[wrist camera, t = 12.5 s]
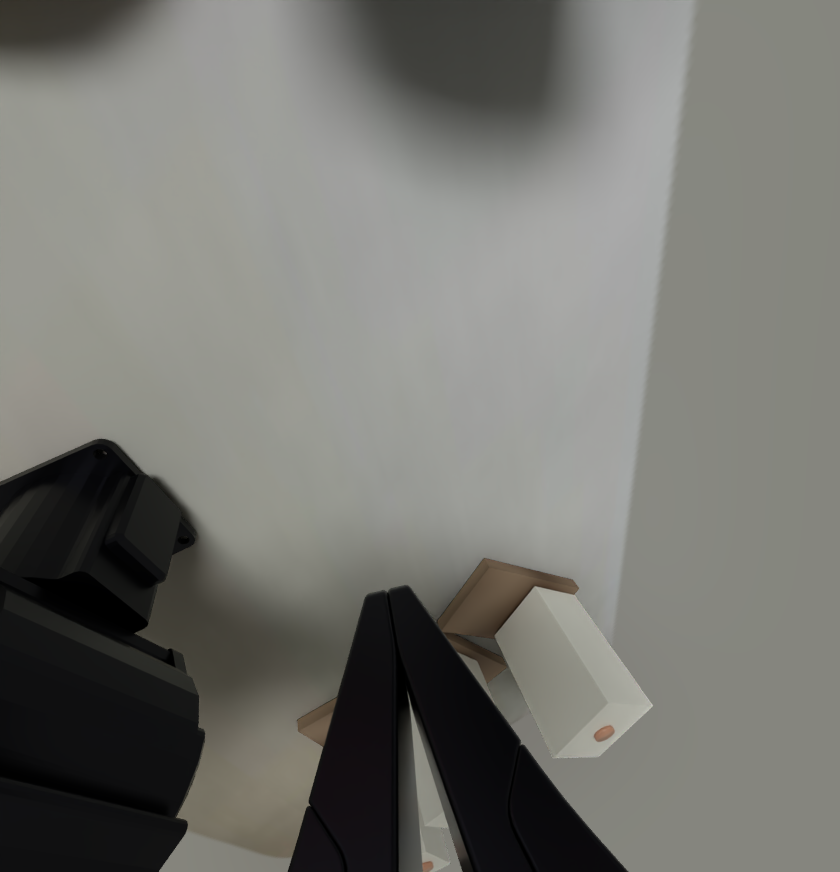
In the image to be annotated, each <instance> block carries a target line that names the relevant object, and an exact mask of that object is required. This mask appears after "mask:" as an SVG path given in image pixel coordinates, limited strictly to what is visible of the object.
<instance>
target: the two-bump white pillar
mask: <svg viewBox="0 0 840 872" xmlns="http://www.w3.org/2000/svg"><path fill="white" fill-rule="evenodd" d="M457 653H458V652H457ZM458 654H459V655H460V657H461V658H462V660H463V661H464V662H465V664H466V665H467V667H468V668H469V669H470V671H471V672H472V673H473V675H474V676H475V678H476V679H477V680H478V682H479V683H480V685H481V686H482V687H483V689H484V690H485V691H486V693H487V694H488V696H489V697H490V698H491V700H492V701H493V703H494V704H495V702H494V700H493V697H492V695H491V693H490V690H489V688H488V686H487V683H486V681H485V679H484V676H483V674H482V671H481V669H480V667H479V664H478V662H477V661H476V660H473V659H471V658H469V657H467V656H465V655H463V654H460V653H458ZM408 697H409V695H408ZM409 703H410V699H409ZM410 711H411V721H412V734H413V748H414V761H415V774H416V787H417V797H418V801H419V805H420V809H421V814H422V818H423V822H424V826H430V827H439V828H448V829H449V827H448V824H447V820H446V817H445V814H444V811H443V808H442V804H441V801H440V798H439V795H438V792H437V788H436V785H435V782H434V779H433V776H432V772H431V769H430V766H429V763H428V760H427V756H426V753H425V750H424V747H423V744H422V740H421V737H420V734H419V731H418V728H417V724H416V721H415V718H414V714H413V711H412V707H411V703H410Z"/></svg>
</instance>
